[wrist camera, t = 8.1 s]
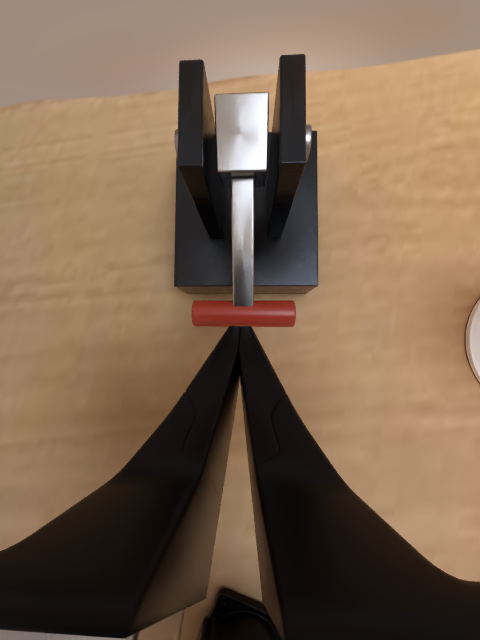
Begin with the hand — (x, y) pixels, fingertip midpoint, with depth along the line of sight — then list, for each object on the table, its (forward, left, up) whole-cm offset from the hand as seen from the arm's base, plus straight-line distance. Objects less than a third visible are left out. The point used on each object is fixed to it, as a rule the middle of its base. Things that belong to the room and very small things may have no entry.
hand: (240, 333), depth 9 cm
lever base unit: (+3, -8, -10) cm, 13 cm away
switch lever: (+2, -5, -3) cm, 7 cm away
